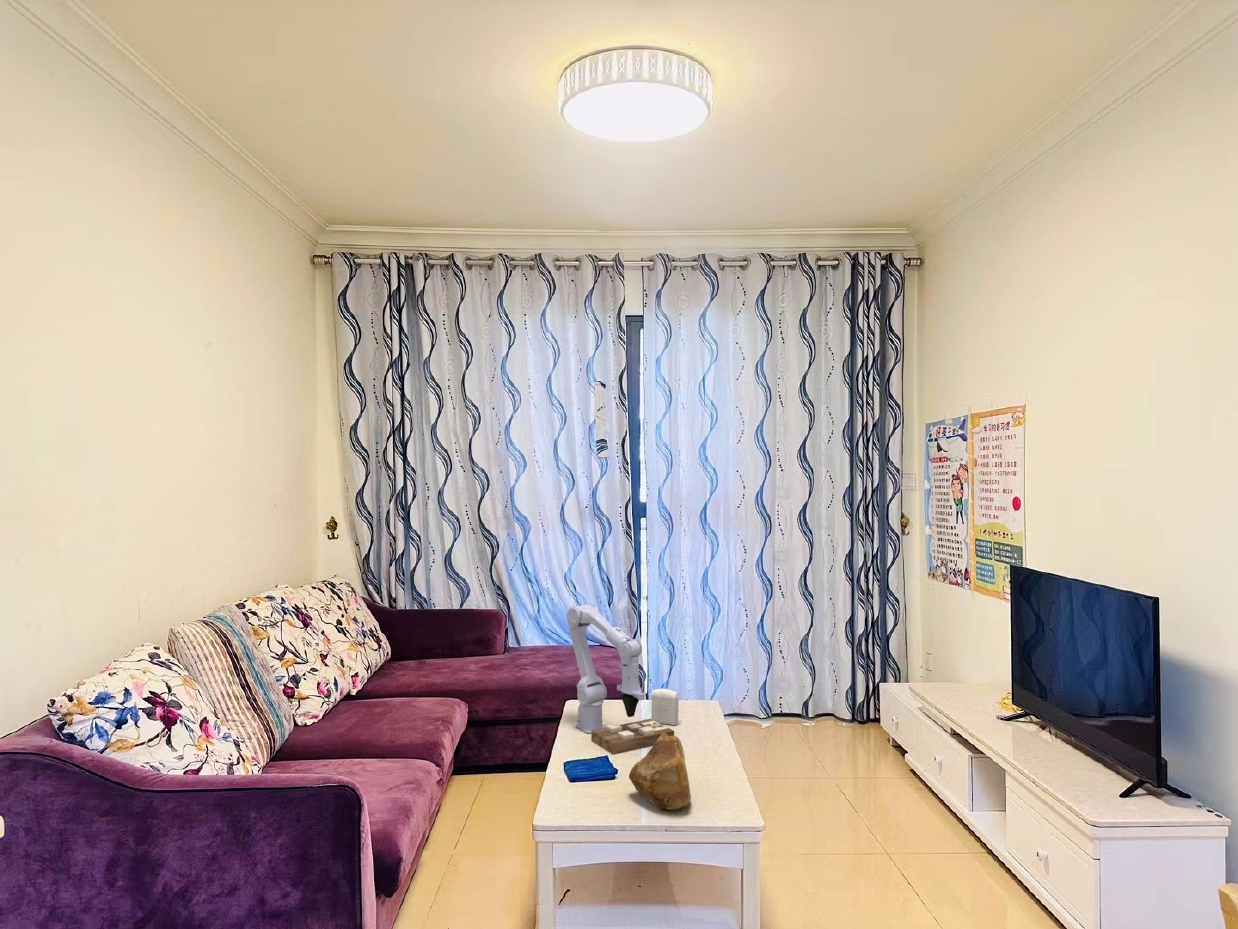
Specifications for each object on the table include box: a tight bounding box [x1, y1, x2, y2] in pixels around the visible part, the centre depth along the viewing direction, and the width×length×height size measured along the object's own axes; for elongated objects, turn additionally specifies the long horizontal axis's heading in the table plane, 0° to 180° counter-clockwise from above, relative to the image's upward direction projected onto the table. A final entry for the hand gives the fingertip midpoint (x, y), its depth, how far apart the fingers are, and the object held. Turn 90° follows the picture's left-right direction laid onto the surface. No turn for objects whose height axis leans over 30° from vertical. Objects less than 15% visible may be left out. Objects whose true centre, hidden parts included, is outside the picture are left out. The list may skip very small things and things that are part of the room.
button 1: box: [605, 723, 622, 733], centre depth 256 cm, size 4×4×1 cm
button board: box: [590, 718, 675, 755], centre depth 255 cm, size 15×24×4 cm, turn 120°
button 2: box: [618, 731, 634, 740], centre depth 249 cm, size 4×4×1 cm
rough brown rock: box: [628, 733, 692, 811], centre depth 210 cm, size 23×17×15 cm
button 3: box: [626, 723, 642, 729], centre depth 260 cm, size 4×4×1 cm
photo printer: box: [651, 688, 679, 726], centre depth 274 cm, size 10×4×12 cm, turn 67°
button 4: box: [638, 726, 655, 736], centre depth 253 cm, size 4×4×1 cm
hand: (630, 716), depth 255 cm, fingers closed
